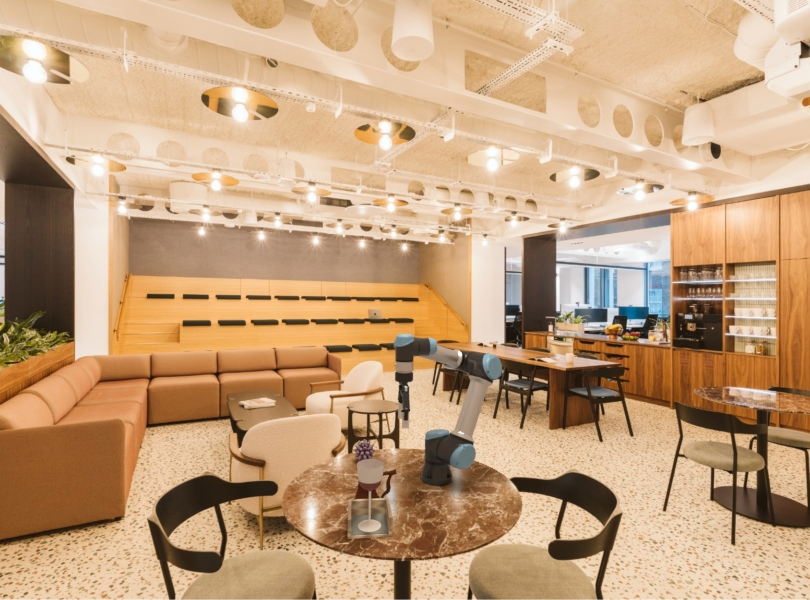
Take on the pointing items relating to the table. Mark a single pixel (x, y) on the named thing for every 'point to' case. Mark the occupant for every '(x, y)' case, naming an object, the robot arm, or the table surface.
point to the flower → (364, 450)
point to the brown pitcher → (365, 493)
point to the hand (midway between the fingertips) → (403, 423)
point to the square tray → (379, 512)
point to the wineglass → (370, 487)
